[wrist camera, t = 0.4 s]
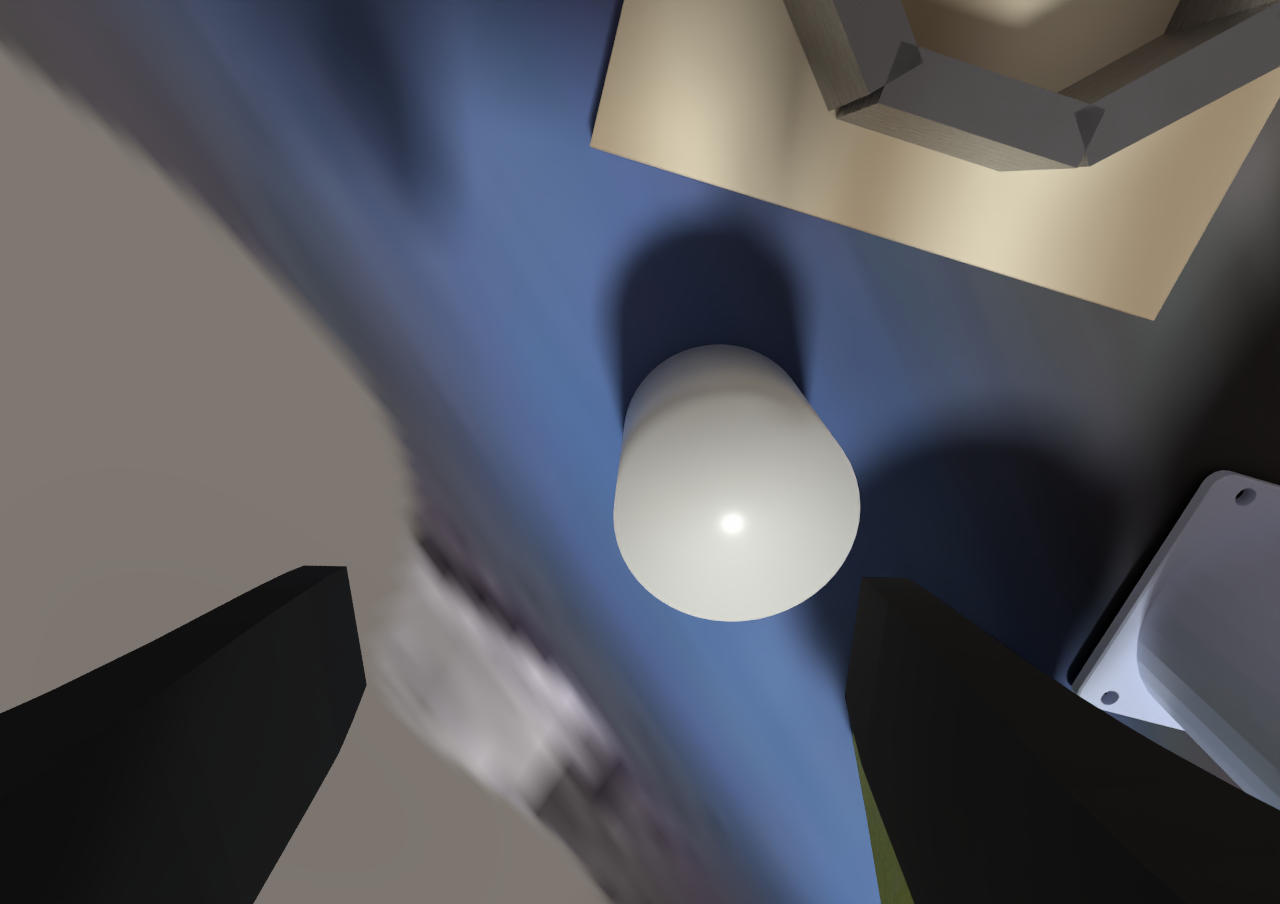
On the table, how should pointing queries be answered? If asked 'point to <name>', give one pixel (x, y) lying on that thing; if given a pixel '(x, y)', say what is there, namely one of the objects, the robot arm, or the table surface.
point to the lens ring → (1018, 111)
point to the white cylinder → (731, 487)
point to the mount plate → (920, 177)
